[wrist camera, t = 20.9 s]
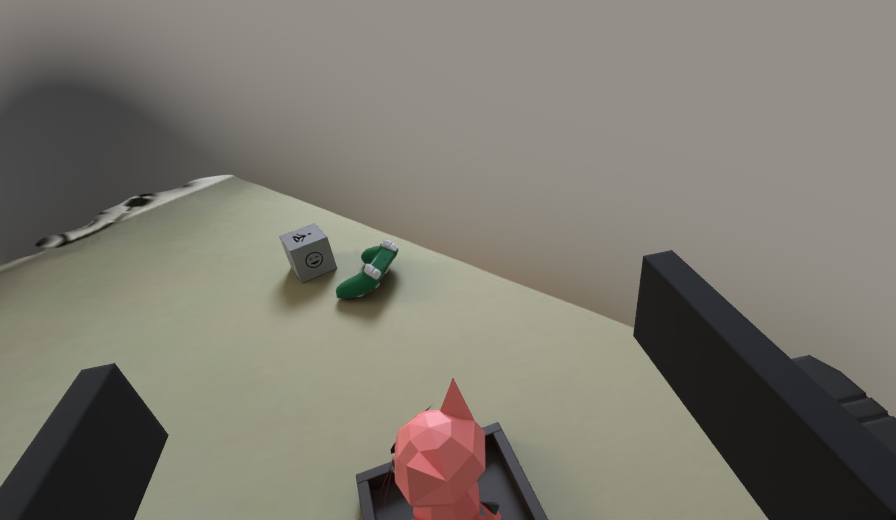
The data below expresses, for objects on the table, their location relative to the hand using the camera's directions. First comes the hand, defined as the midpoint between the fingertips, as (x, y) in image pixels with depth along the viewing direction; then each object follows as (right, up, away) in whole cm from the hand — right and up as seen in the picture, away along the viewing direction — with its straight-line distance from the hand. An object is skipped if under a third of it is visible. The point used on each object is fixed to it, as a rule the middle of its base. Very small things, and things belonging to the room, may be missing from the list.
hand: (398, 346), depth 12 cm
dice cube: (-17, +1, +51) cm, 54 cm away
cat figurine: (+2, -16, +20) cm, 26 cm away
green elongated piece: (-8, -1, +47) cm, 48 cm away
